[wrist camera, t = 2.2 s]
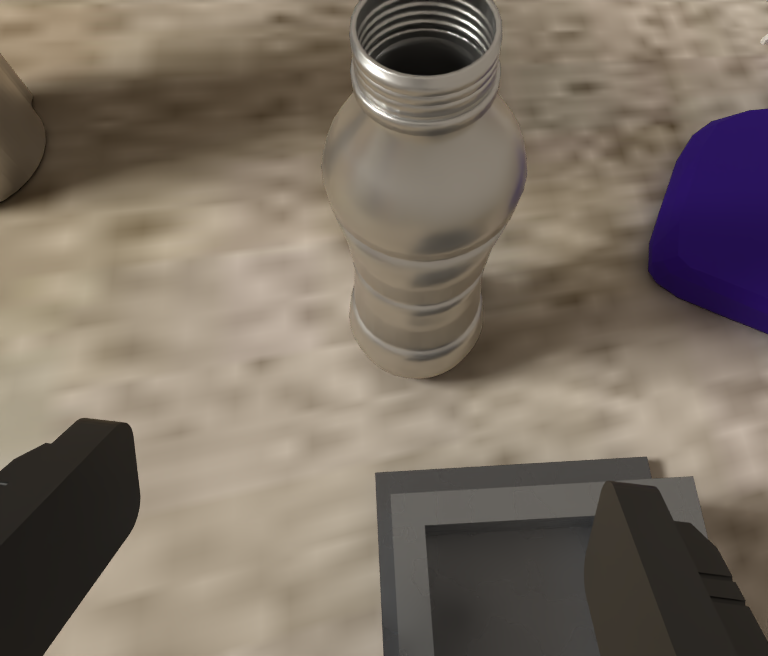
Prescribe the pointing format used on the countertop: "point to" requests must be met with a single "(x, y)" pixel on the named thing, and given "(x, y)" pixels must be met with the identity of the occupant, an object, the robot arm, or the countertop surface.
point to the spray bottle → (718, 221)
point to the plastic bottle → (422, 176)
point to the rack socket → (498, 554)
